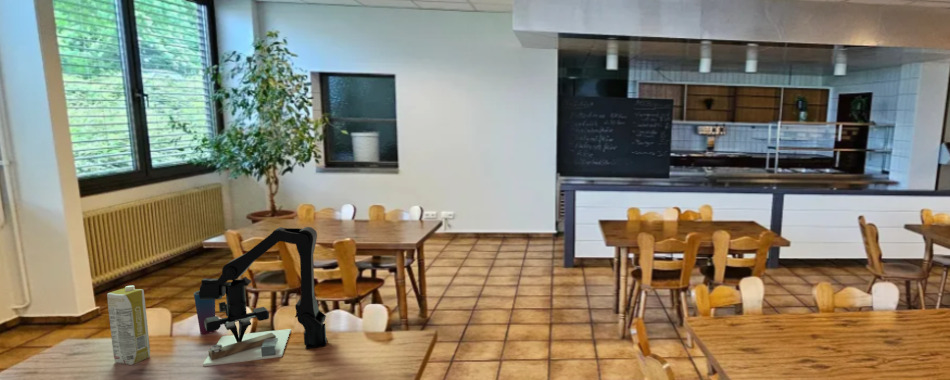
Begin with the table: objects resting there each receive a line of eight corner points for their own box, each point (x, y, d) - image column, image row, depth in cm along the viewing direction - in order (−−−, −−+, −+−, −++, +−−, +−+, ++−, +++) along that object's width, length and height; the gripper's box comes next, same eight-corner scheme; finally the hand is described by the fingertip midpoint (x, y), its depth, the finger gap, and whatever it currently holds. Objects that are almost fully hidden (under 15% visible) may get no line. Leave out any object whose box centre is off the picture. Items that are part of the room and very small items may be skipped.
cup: (209, 335, 177) (205, 295, 175) (192, 334, 178) (189, 294, 177) (222, 328, 184) (219, 289, 182) (206, 327, 185) (203, 288, 183)
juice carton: (154, 356, 161) (147, 284, 158) (131, 367, 154) (123, 292, 151) (134, 352, 164) (126, 282, 162) (110, 363, 157) (101, 289, 154)
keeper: (278, 346, 164) (277, 337, 163) (275, 355, 157) (274, 345, 157) (265, 348, 163) (264, 339, 162) (261, 356, 156) (261, 347, 156)
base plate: (291, 330, 179) (290, 319, 179) (282, 356, 158) (281, 343, 157) (222, 338, 174) (221, 326, 174) (203, 366, 153) (202, 353, 152)
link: (212, 360, 154) (211, 354, 154) (208, 356, 157) (208, 350, 157) (276, 340, 168) (275, 335, 168) (271, 337, 171) (271, 332, 170)
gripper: (260, 286, 174) (263, 328, 176) (200, 296, 163) (204, 341, 165) (268, 295, 165) (270, 339, 167) (205, 306, 154) (208, 354, 156)
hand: (239, 343), depth 164 cm, fingers closed
